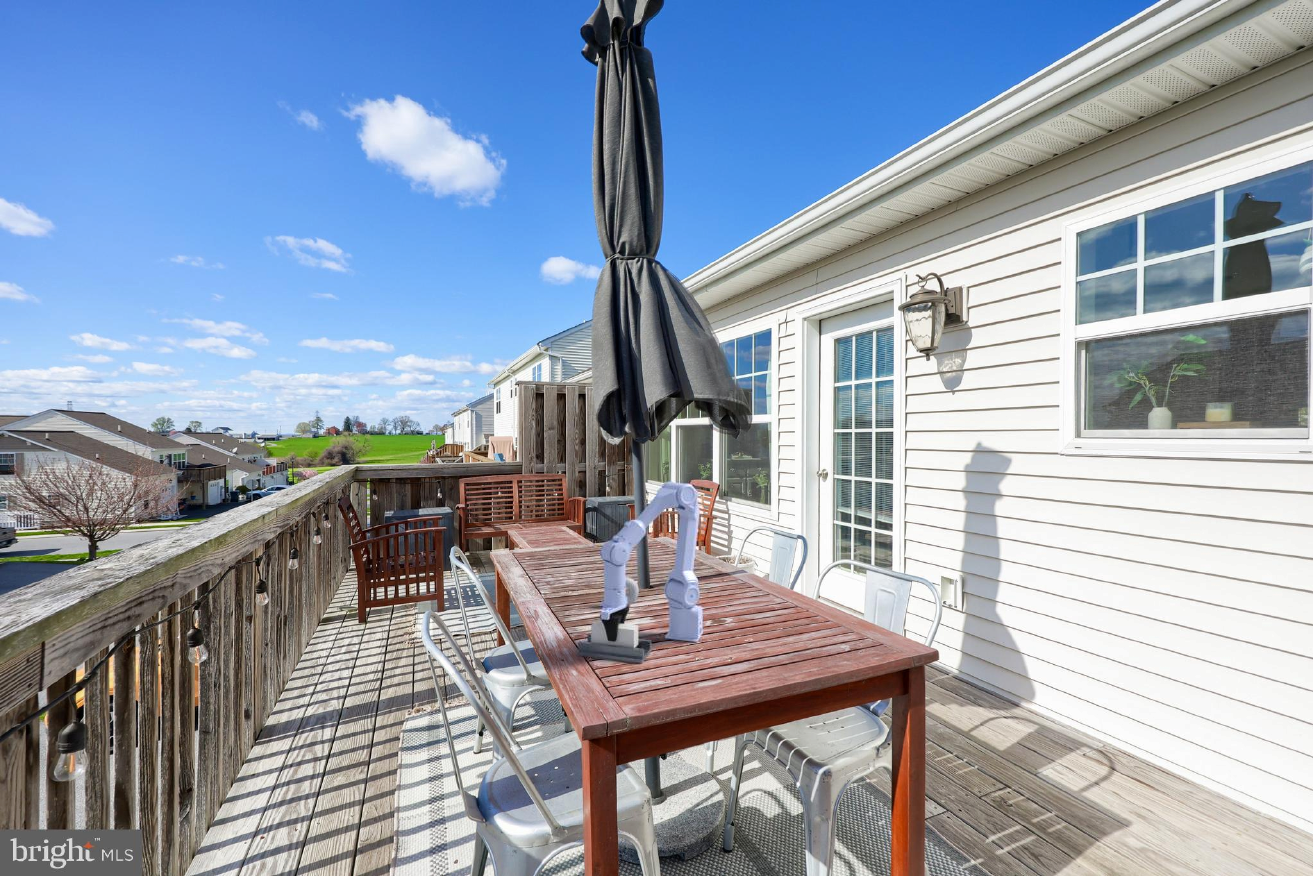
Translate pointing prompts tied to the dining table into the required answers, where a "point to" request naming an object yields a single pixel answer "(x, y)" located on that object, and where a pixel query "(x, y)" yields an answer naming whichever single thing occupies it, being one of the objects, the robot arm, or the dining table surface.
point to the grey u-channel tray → (615, 651)
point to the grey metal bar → (625, 635)
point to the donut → (631, 590)
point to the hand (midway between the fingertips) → (614, 638)
